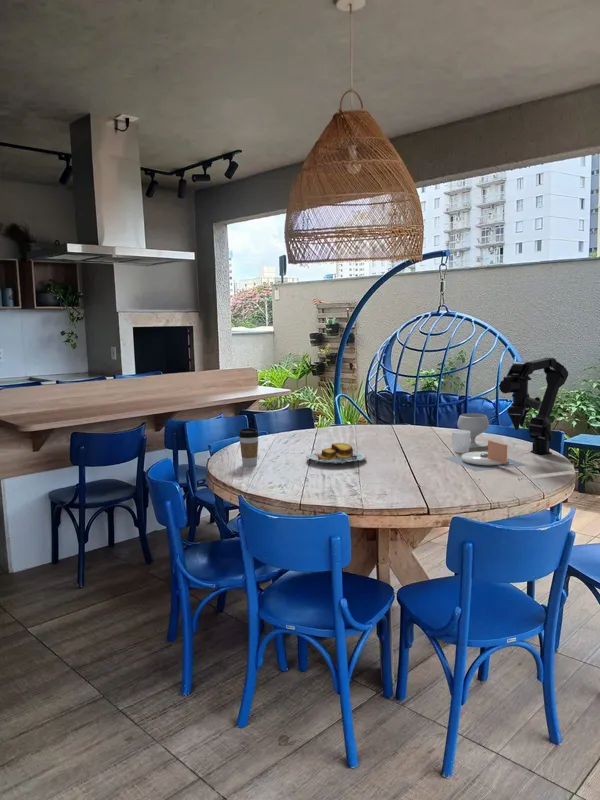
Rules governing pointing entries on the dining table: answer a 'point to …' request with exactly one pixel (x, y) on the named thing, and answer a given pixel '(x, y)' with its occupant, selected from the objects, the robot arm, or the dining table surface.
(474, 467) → the board
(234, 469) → the dining table surface
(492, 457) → the dial
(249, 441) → the coffee cup
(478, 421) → the chalice
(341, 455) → the food on plate
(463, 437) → the white cup
